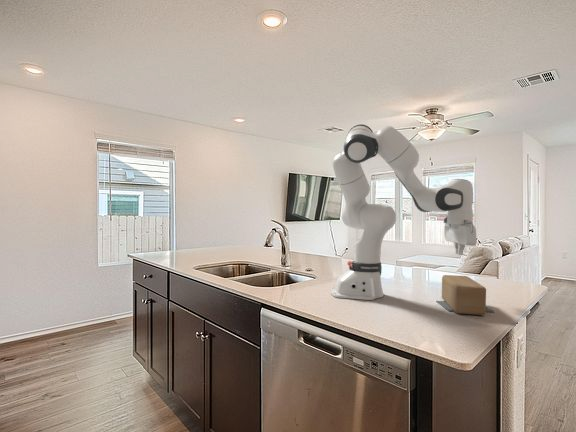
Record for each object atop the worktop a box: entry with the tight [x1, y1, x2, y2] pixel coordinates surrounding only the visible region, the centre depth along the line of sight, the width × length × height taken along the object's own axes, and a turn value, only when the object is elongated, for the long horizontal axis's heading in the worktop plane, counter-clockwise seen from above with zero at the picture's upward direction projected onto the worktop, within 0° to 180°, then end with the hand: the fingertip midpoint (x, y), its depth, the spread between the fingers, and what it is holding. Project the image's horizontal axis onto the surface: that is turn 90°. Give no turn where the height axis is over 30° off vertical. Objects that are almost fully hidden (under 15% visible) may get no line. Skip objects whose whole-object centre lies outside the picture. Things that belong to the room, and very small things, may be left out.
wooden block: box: [441, 274, 487, 316], centre depth 125 cm, size 10×10×20 cm
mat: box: [435, 300, 495, 314], centre depth 126 cm, size 16×12×1 cm
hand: (459, 254), depth 133 cm, fingers closed
